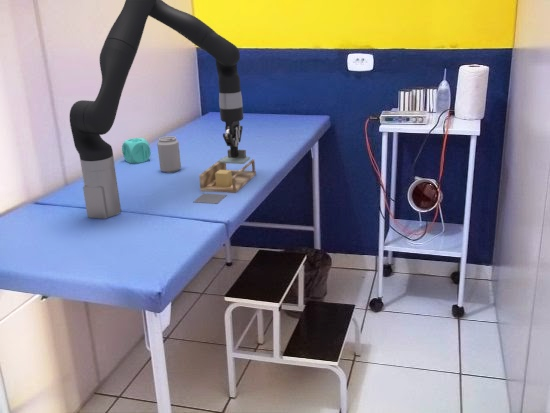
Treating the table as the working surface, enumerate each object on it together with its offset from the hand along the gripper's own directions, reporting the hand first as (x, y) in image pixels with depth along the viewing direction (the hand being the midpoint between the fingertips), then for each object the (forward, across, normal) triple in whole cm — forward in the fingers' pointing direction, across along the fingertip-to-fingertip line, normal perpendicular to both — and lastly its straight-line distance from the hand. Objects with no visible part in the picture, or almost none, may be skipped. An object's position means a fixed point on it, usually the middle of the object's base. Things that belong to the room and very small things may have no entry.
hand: (234, 156), depth 203 cm
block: (+7, -11, 0) cm, 13 cm away
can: (+8, +5, +27) cm, 29 cm away
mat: (+7, -23, 0) cm, 24 cm away
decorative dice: (+8, +15, +46) cm, 49 cm away
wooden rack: (+7, -7, 0) cm, 10 cm away
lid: (+1, 0, 0) cm, 2 cm away
